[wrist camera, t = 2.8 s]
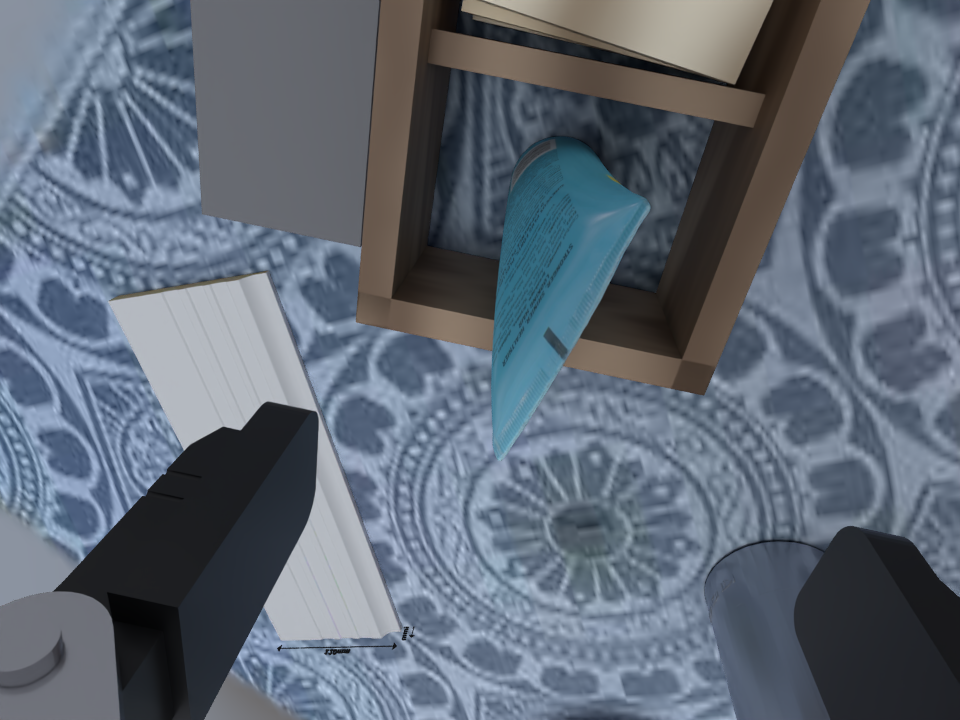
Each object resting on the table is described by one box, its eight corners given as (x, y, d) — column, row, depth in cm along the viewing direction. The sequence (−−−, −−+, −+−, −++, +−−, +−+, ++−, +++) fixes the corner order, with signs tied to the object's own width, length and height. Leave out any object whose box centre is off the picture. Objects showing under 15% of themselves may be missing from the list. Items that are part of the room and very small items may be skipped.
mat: (385, -4, 28) (379, -6, 27) (365, 241, 33) (360, 246, 33) (199, -41, 28) (187, -44, 27) (211, 209, 34) (202, 214, 33)
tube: (573, 263, 33) (587, 494, 16) (490, 233, 32) (415, 434, 15) (633, 128, 29) (734, 237, 12) (541, 92, 29) (514, 153, 12)
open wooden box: (835, -119, 24) (949, -188, 17) (673, 322, 33) (704, 395, 26) (448, -192, 24) (403, -289, 17) (398, 265, 34) (355, 322, 27)
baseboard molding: (295, 263, 35) (124, 292, 38) (273, 280, 33) (92, 309, 35) (420, 621, 49) (288, 625, 51) (412, 653, 46) (274, 655, 49)
